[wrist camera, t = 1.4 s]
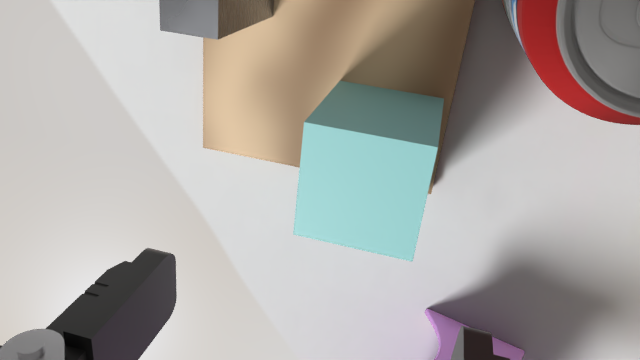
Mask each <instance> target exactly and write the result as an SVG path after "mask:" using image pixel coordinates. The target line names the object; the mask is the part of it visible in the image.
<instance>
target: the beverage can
mask: <svg viewBox="0 0 640 360" xmlns="http://www.w3.org/2000/svg"><path fill="white" fill-rule="evenodd" d="M502 2H503V6H504V9H505V12H506V14H507V17H508V19H509V22H510V24H511V26H512V28H513V30H514V32H515V35H516V37H517V38H518V40H519V42H520V44H521V46H522V48H523V50H524V51H525V53H526V55H527V57H528V59H529V60H530V62H531V64H532V65H533V67H534V69H535V70H536V72H537V74H538V75H539V77H540V78H541V80H542V81H543V82H544V83H545V85H546V86H547V87H548V88H549V89H550V90H551V91H552V92H553V93H554V94H555V95H556V96H557V97H558V98H560V99H561V100H562V101H563V102H565V103H566V104H568V105H569V106H571V107H572V108H574V109H576V110H578V111H580V112H582V113H584V114H586V115H589V116H591V117H594V118H597V119H601V120H604V121H609V122H613V123H620V124H630V125H640V0H502Z"/></svg>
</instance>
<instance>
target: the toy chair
mask: <svg viewBox="0 0 640 360" xmlns="http://www.w3.org/2000/svg"><path fill="white" fill-rule="evenodd" d="M425 314H426V316H427V318H428V319H429V321H430V322H431V324H432V326H433V328H434V329H435V332H436V334H437V337H438V342H439V349H438V353H437V356H436V357H435V359H434V360H451V356H452V353H453V350H454V346H455V343H456V340H457V337H458V333H459V330H460V328H461V326H466V327H469V326H467V325H464V324H462V323H460V322H457V321H455V320H453V319H451V318H448V317H446V316H444V315H441V314H439V313H437V312H435V311H432V310H430V309H426V311H425ZM470 328H471V327H470ZM492 341H493V353H494V355H498V356H502V357H506V358H510V360H522V357H523V355H524V351H523V350H521V349H519V348H517V347H515V346H512V345H510V344H508V343H505V342H503V341H501V340H499V339H496V338H494V337H492Z"/></svg>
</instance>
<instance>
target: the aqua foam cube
mask: <svg viewBox="0 0 640 360" xmlns="http://www.w3.org/2000/svg"><path fill="white" fill-rule="evenodd" d="M443 103H444V98H438V97H433V96H427V95H421V94H415V93H409V92H403V91H398V90H392V89H386V88H380V87H374V86H369V85H363V84H357V83H351V82H345V81H339V82H338V83H337V84H336V86H335V87H334V88H333V89H332V90H331V91H330V93H329V94H328V95H327V96H326V97H325V98H324V100H323V101H322V102H321V103H320V104H319V105H318V106H317V108H316V109H315V110H314V111H313V112H312V113H311V115H310V116H309V117H308V118H307V119H306V120H305V122H304V128H303V138H302V149H301V159H300V170H299V180H298V191H297V201H296V212H295V222H294V233H293V234H294V235H298V236H303V237H307V238H311V239H316V240H320V241H324V242H329V243H333V244H338V245H342V246H346V247H351V248H355V249H359V250H364V251H368V252H373V253H377V254H381V255H386V256H390V257H394V258H399V259H403V260H408V261H413V257H414V252H415V248H416V243H417V239H418V234H419V230H420V226H421V221H422V217H423V212H424V208H425V203H426V199H427V194H428V190H429V185H430V181H431V177H432V172H433V168H434V163H435V159H436V154H437V150H438V144H439V136H440V128H441V120H442V111H443Z"/></svg>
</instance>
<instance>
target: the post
mask: <svg viewBox="0 0 640 360" xmlns="http://www.w3.org/2000/svg"><path fill="white" fill-rule="evenodd" d="M159 2H160V30H161V31H167V32H173V33H180V34H186V35H192V36H198V37H204V38H210V39H216V40H218V39H221V38H223V37H226V36H228V35H230V34H233V33H235V32H237V31H240V30H242V29H245V28H247V27H249V26H252V25H254V24H256V23H259V22H261V21H264V20H266V19H268V18H271V17H273V10H274V0H159Z"/></svg>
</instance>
